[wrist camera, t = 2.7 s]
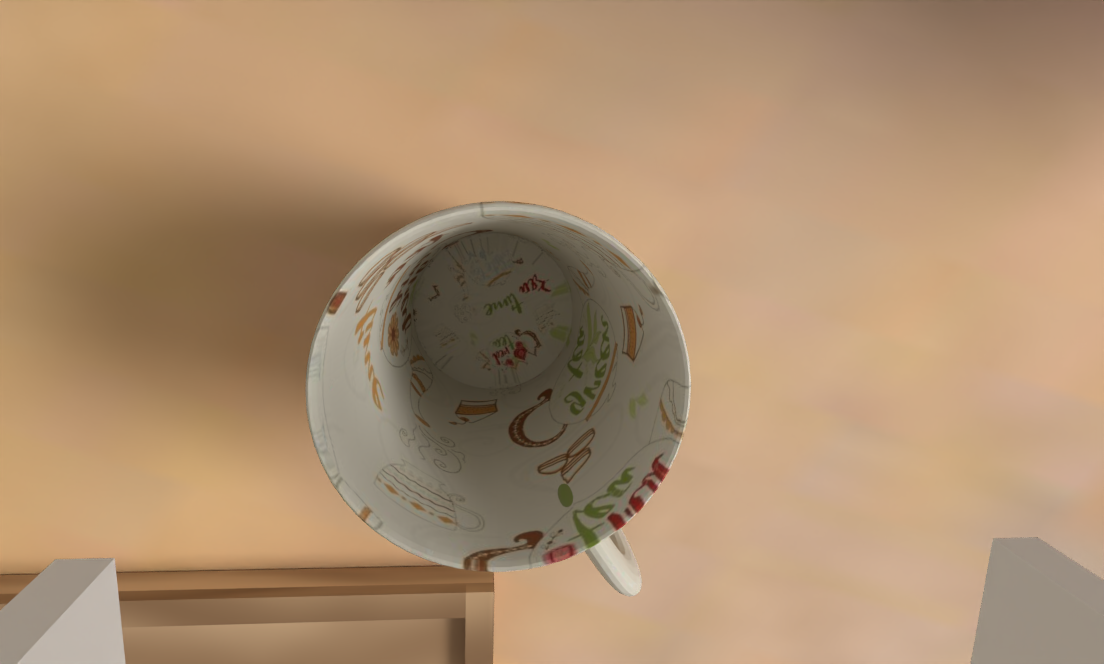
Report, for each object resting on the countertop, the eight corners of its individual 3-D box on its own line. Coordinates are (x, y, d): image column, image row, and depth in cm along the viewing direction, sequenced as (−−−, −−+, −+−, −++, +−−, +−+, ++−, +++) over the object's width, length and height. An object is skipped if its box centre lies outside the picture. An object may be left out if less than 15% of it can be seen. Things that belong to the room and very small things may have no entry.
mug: (532, 141, 24) (568, 122, 14) (708, 437, 27) (836, 587, 17) (322, 273, 24) (219, 342, 15) (519, 552, 27) (542, 764, 18)
